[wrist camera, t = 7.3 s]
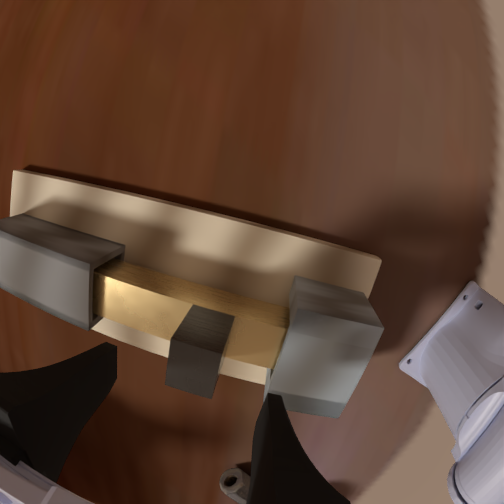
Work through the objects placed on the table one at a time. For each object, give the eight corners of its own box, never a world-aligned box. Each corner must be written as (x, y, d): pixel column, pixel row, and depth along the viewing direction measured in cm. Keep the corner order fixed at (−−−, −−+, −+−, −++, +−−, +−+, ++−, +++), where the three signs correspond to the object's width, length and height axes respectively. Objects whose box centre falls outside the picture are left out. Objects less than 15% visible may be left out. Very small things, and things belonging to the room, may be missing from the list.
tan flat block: (325, 316, 20) (341, 380, 14) (311, 352, 21) (319, 422, 14) (69, 243, 21) (6, 271, 14) (68, 279, 22) (10, 314, 15)
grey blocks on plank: (377, 255, 21) (409, 288, 15) (323, 387, 24) (330, 442, 18) (22, 169, 22) (-29, 175, 16) (19, 287, 25) (-23, 310, 19)
